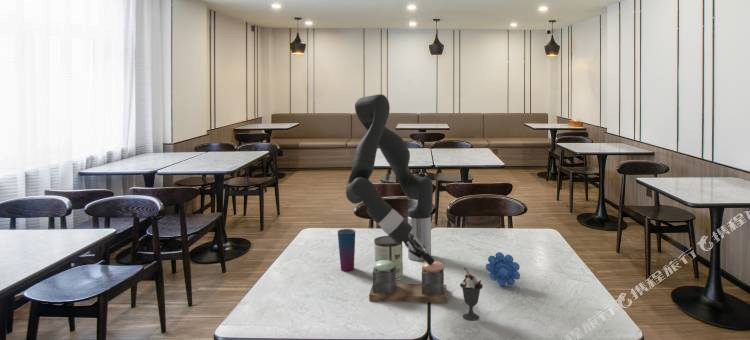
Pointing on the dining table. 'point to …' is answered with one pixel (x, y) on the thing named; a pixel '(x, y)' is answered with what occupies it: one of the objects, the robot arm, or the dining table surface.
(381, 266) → the button
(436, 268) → the button
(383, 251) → the coffee can
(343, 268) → the cup
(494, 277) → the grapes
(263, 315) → the dining table surface
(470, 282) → the sundae
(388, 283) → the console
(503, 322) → the dining table surface
